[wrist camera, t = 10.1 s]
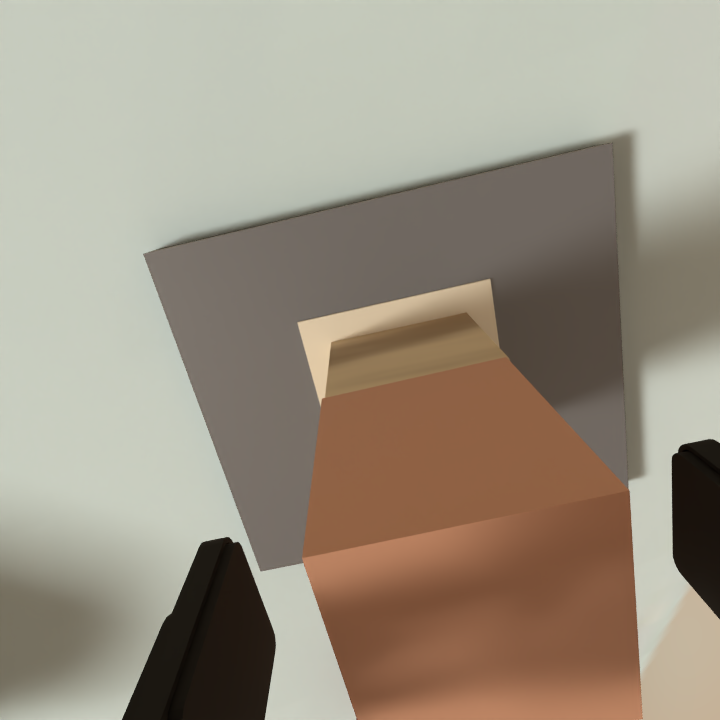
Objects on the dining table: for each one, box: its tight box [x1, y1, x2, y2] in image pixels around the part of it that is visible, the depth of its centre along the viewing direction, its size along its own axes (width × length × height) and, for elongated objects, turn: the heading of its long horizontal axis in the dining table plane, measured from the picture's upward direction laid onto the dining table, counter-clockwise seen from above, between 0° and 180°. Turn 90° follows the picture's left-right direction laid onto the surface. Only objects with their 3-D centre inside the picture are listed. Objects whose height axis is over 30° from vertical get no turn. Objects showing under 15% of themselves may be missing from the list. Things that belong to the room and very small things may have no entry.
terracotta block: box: [302, 357, 643, 720], centre depth 11 cm, size 5×5×6 cm
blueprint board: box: [144, 143, 628, 571], centre depth 19 cm, size 14×16×1 cm
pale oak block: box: [325, 312, 510, 398], centre depth 16 cm, size 5×5×5 cm
